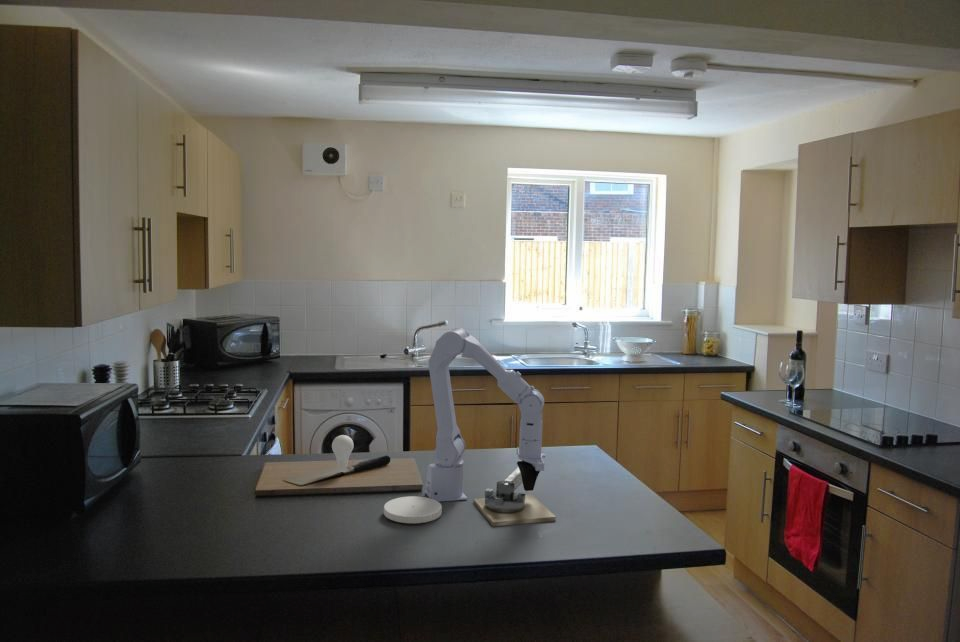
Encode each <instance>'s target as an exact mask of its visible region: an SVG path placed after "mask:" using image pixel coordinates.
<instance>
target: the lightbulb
mask: <svg viewBox="0 0 960 642" xmlns="http://www.w3.org/2000/svg"><path fill="white" fill-rule="evenodd" d="M331 443H332V444H331V448H332V449H331V450H332V453H333V454H334V456H335V459H336V464H337V469H338V468H346V467H347V468H348V464H349V458H350V456H351V455H352V452H353V450H354V445H355V444H354V440H353V439H352V438H351V437H350V436H349V435H345V434H340V435H338V436H336V437H335V438H334V439H333V440H332V442H331Z"/></svg>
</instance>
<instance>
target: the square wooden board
mask: <svg viewBox="0 0 960 642" xmlns="http://www.w3.org/2000/svg"><path fill="white" fill-rule="evenodd" d="M520 493H521V492H520ZM521 494H523V492H522V493H521ZM473 504H474V505H475V507H476V508H477V509H478V510H479V511H480V513H481V514H482V515H483V516H484V517H485V519H486V520H487V521H488V522H489V523H490V524H491V525H492V527H501V526H511V525H522V524H534V523H535V524H536V523H545V522H554V521H556V518H557V516H556V515H555V514H554V513H552V512H551V511H550V510H549V509H548V508H547V507H546V505H544V504H543V503H542V502H540V501H539V499H537V498H536V497H535V496H534V495H533V494H525V508H524V509H523V510H522V511H520V512H516V513H498V512H493V511H490V510H488V509H487V508H486V507H485V497H481V498H480V497H479V498H473Z"/></svg>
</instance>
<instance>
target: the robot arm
mask: <svg viewBox="0 0 960 642" xmlns="http://www.w3.org/2000/svg"><path fill="white" fill-rule="evenodd" d="M460 354H461V358H465V359H473V360H475V361H476V362H477V363H478V364H479V365H481V366H482V367H483V369H485V371H487V372H488V373H490V375H492V376H493V377H494V378H496V381H497V386H498V388H499V389H501V391H503V393H505V394H506V395H507V396H508V397H509V398H510V399H511V400H512V401H513V402H514V403H515V404H517V405H518V408H519V410H520V413H521V414H520V421H519V423H520V424H519V438H518V439H519V443H518V445H519V446H518V447H516V455H517V458H518V460H519V461H517V462H516V465H517V468H518V467H519V469H520V472H521V476H522V482H523V483H522V486H523V487H522V488H523V490H524V491H525V492H529V491H534V490H535V485H536V482H537V479H538V476H539V475H540V472H542V471H545V462H544V461H543V458H544V459H545V458H546V454H545V453H542V448H543V447H542V444H543V423H544V421H543V408H544V406H545V397H544V395H543V394H542V393H541V390H539V389H535V386H534V385H530V384H529V383H528V382H527V381H526V380H525V379H524V378H522V373H520V372H519V371H515V370H514V369H506V368H505V367H504V366H503V365H502V364H501V363H500V362H499V361H498V360H497V359H496V358H495V357H494V356H493V355H492V354H491V353H490V352H489V351H488V349H486V348H485V347H484V346H483V344H481V342H479V340H478V339H477V338H475V337H474V336H473V335H472V334H471V335H470V333H469V332H468V331H467V330H465V329H463V328H461V327H457V328H453V329H451V330H450V331H447V332H445V333H443V334H442V335H441V336H440V337H439V338H438V339H437V340H436V342H435V344H434V348H433V349H432V352H431V354H430V357H429V359H428V370H429V377H430V385H431V392H432V398H433V405H434V413H435V419H436V427H437V431H436V437H435V442H436V446H435V449H434V453H433V454H434V458H435V463H434V462H433V463H430V464H427V465H426V475H425V476H426V478H425V479H426V481H425V482H426V483H425V494H426V495H427V496H428V497H427V498H431V499H433V500H436V501H438V502H439V503H441V502H451V501H454V502H455V501H461V500H462V501H464V500H468V497H467V495H466V494H465V493H464V491H463V488H464V487H463V486H464V485H463V484H464V463H465V462H464V459H463V458H462V456H463V454H464V452H465V451H466V442H465V440H464V438H463V436H462V435H461V429H460V428H459V426H458V425H457V418H456V417H457V416H456V412H455V403H454V402H455V401H454V397H453V396H454V394H453V390H452V383H451V382H452V381H451V375H450V366H451V364H452V362H454V360H455V359H456V358H457V356H459V355H460Z"/></svg>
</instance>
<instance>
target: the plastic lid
mask: <svg viewBox="0 0 960 642" xmlns="http://www.w3.org/2000/svg"><path fill="white" fill-rule="evenodd" d="M442 510H443V506H442V504H441V502H438V501H436V500H433V499H431V498H429V497H425V496H415V495H414V496H412V495H411V496H401V497H396V498H393V499H390V500H388V501H387V502H385V504H384V505H383V515H384V517H385V518H387V519H389V520H390V521H394V522H397V523H401V524H422V523H428V522H432V521H434V520H435V521H436V520H437V519H438V518H440V517H441V516H442V513H443V511H442Z"/></svg>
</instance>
